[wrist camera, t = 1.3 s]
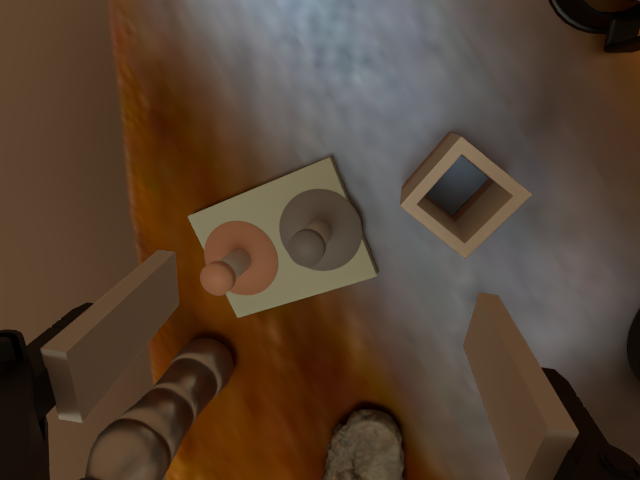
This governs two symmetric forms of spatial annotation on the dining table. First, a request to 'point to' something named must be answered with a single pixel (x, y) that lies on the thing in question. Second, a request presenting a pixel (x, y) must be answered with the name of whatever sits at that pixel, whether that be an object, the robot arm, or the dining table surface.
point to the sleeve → (477, 212)
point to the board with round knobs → (283, 241)
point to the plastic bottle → (161, 416)
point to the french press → (603, 23)
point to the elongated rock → (365, 448)
